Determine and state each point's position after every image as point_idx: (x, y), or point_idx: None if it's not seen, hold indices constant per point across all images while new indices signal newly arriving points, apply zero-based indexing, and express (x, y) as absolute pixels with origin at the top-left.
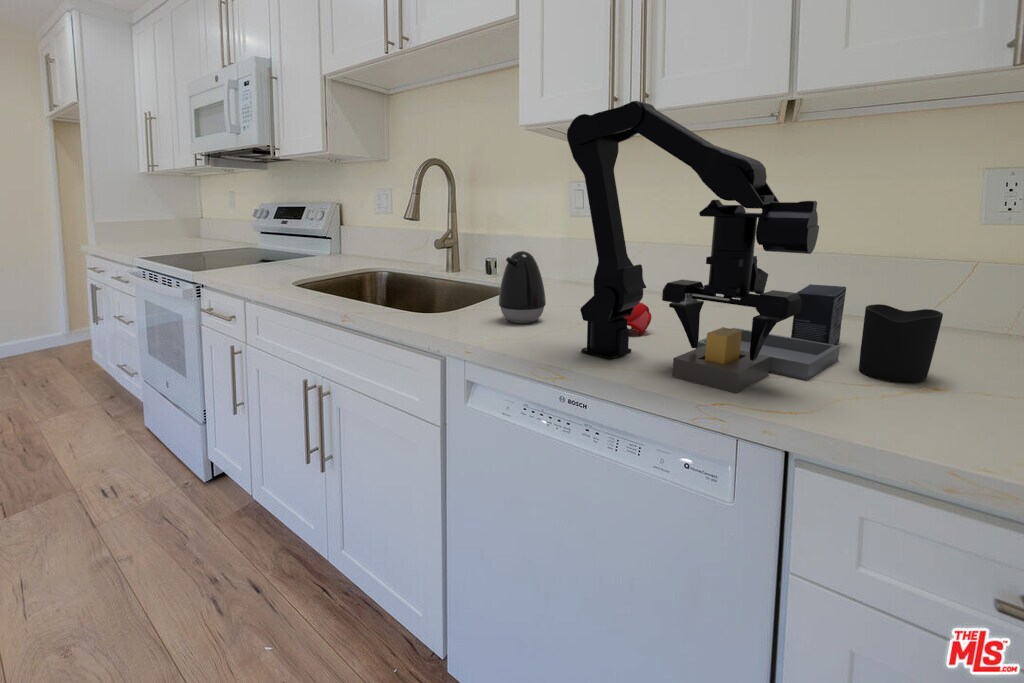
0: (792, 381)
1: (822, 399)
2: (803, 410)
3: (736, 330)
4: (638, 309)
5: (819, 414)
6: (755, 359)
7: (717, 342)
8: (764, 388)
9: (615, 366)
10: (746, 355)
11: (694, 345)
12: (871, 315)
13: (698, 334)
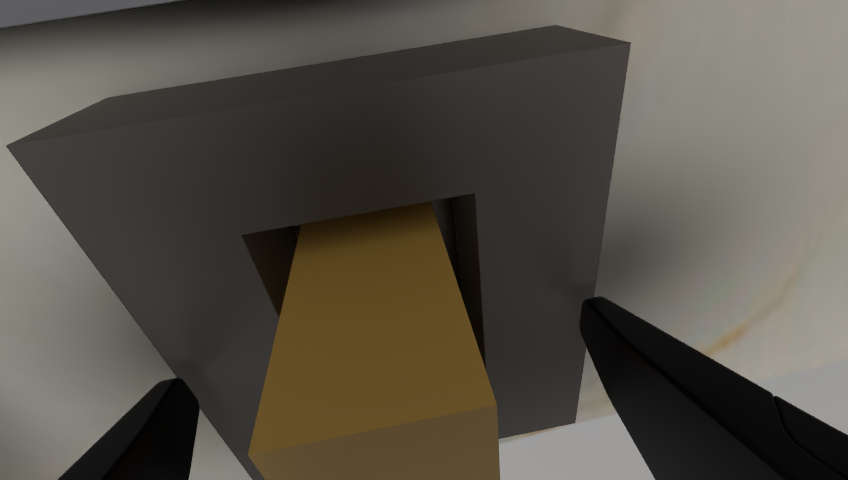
0: (702, 16)
1: (835, 161)
2: (759, 303)
3: (450, 437)
4: None
5: (805, 293)
6: (562, 220)
7: None
8: (603, 235)
9: (49, 475)
10: (473, 189)
11: (191, 419)
12: None
13: (124, 465)
